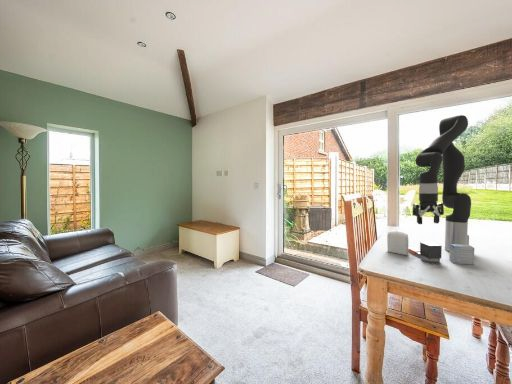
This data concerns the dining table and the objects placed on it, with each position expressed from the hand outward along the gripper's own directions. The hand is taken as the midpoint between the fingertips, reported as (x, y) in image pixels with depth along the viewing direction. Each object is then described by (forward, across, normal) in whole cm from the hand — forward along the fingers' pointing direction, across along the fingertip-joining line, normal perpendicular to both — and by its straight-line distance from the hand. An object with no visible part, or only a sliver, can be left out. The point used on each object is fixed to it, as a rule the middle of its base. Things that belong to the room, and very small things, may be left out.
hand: (427, 223), depth 111 cm
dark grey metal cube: (+16, 0, +2) cm, 17 cm away
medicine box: (+19, -13, +5) cm, 24 cm away
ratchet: (+19, 0, -3) cm, 19 cm away
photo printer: (+19, +8, -11) cm, 24 cm away
